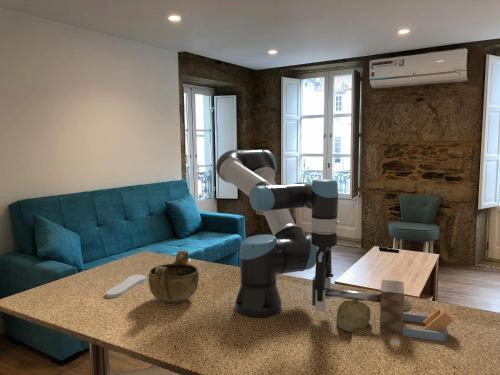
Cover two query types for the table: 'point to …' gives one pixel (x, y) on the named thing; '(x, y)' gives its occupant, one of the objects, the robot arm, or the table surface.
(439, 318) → the spacer
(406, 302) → the sea urchin shell
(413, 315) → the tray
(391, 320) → the block
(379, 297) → the shaft
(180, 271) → the ceramic bowl
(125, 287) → the long curved white strip
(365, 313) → the decorative item
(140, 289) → the table surface
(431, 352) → the table surface
